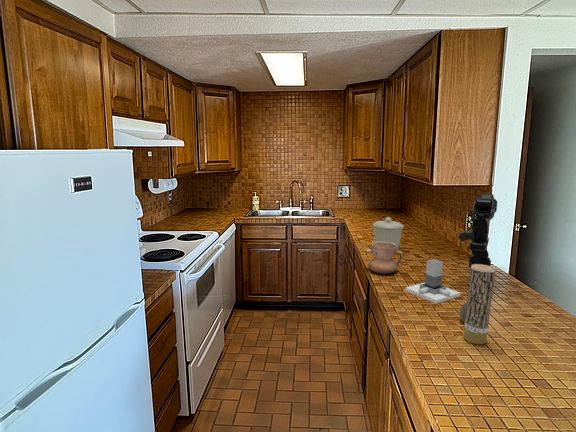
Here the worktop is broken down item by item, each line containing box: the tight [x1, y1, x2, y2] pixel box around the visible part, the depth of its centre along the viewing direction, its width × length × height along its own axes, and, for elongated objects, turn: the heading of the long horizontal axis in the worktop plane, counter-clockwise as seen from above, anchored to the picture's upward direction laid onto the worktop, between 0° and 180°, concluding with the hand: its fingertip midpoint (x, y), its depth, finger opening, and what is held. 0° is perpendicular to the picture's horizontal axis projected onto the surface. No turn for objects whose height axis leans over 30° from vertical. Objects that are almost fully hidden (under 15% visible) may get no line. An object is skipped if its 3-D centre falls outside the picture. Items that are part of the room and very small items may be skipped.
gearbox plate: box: [404, 281, 462, 305], centre depth 164 cm, size 16×16×4 cm
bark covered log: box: [463, 264, 496, 345], centre depth 123 cm, size 7×7×25 cm
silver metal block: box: [424, 258, 444, 290], centre depth 163 cm, size 5×5×13 cm
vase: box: [459, 301, 467, 324], centre depth 137 cm, size 7×7×9 cm
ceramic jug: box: [366, 241, 404, 275], centre depth 191 cm, size 18×14×14 cm
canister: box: [372, 216, 405, 251], centre depth 228 cm, size 18×18×21 cm
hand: (477, 261), depth 168 cm, fingers open, 9 cm apart
